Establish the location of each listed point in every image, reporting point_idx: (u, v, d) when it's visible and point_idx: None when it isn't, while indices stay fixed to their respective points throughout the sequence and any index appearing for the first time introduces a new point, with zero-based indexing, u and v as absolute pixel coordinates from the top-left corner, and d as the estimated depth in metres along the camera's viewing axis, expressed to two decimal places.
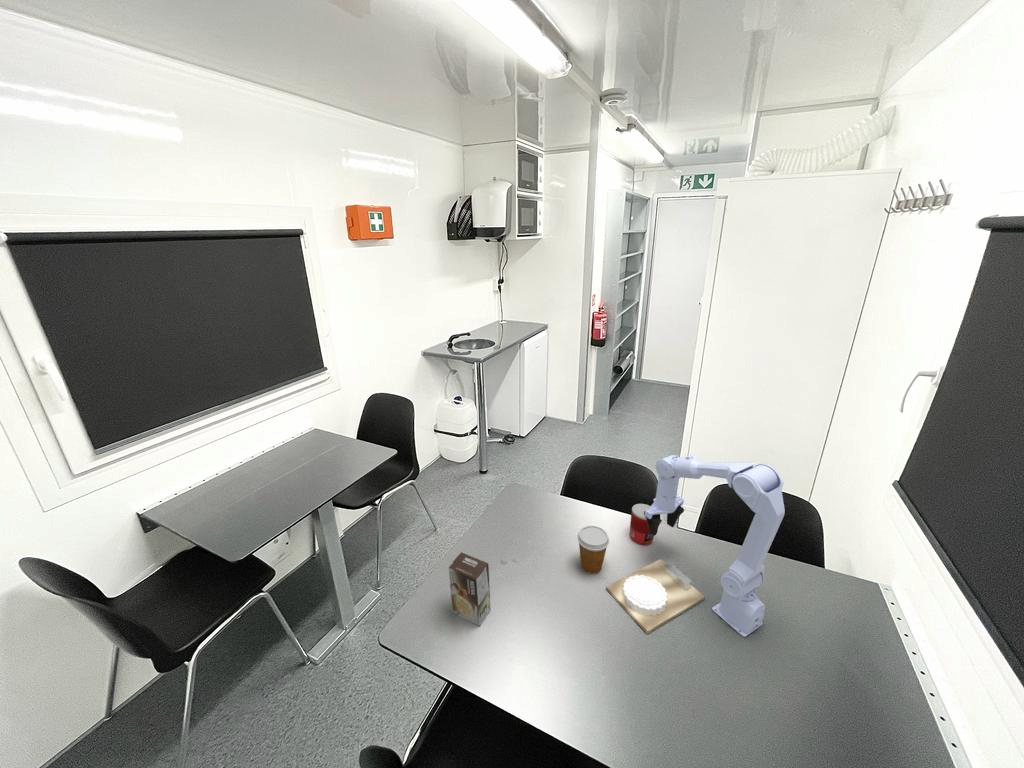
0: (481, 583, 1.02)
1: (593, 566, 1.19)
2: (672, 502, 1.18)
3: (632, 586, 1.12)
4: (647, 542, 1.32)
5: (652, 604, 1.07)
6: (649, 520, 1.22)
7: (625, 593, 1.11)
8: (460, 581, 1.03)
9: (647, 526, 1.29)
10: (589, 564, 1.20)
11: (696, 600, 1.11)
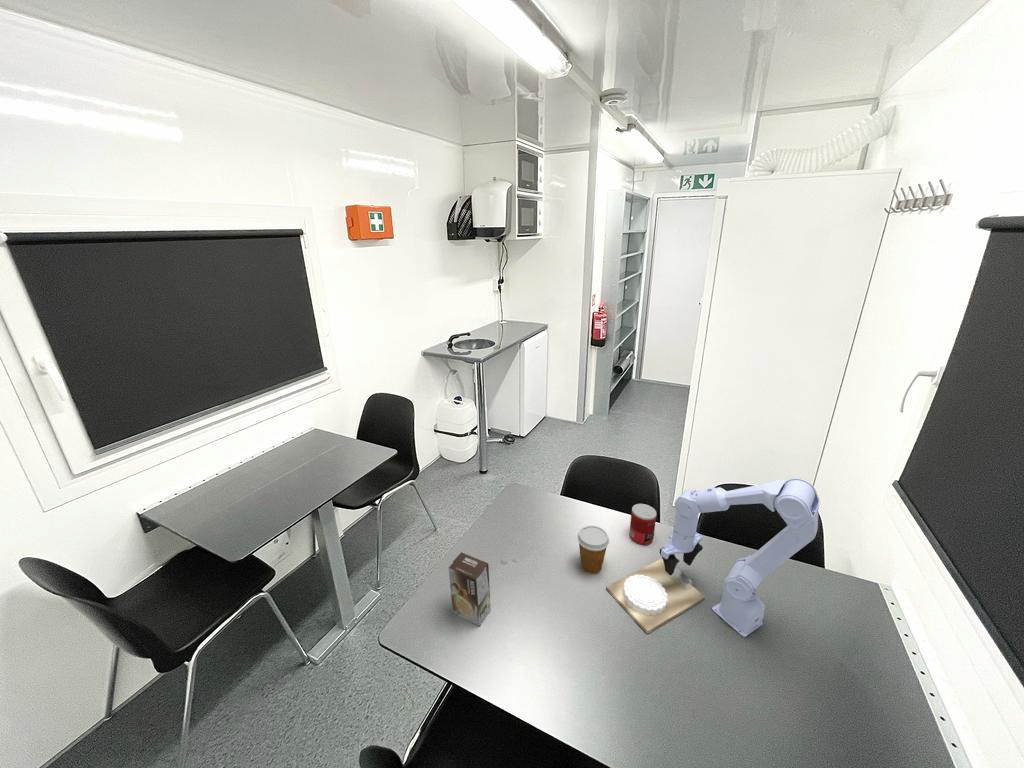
0: (481, 583, 1.02)
1: (593, 566, 1.19)
2: (690, 541, 1.09)
3: (633, 589, 1.11)
4: (647, 542, 1.32)
5: (658, 603, 1.07)
6: (665, 559, 1.13)
7: (629, 598, 1.09)
8: (460, 581, 1.03)
9: (647, 526, 1.29)
10: (589, 564, 1.20)
11: (696, 600, 1.11)
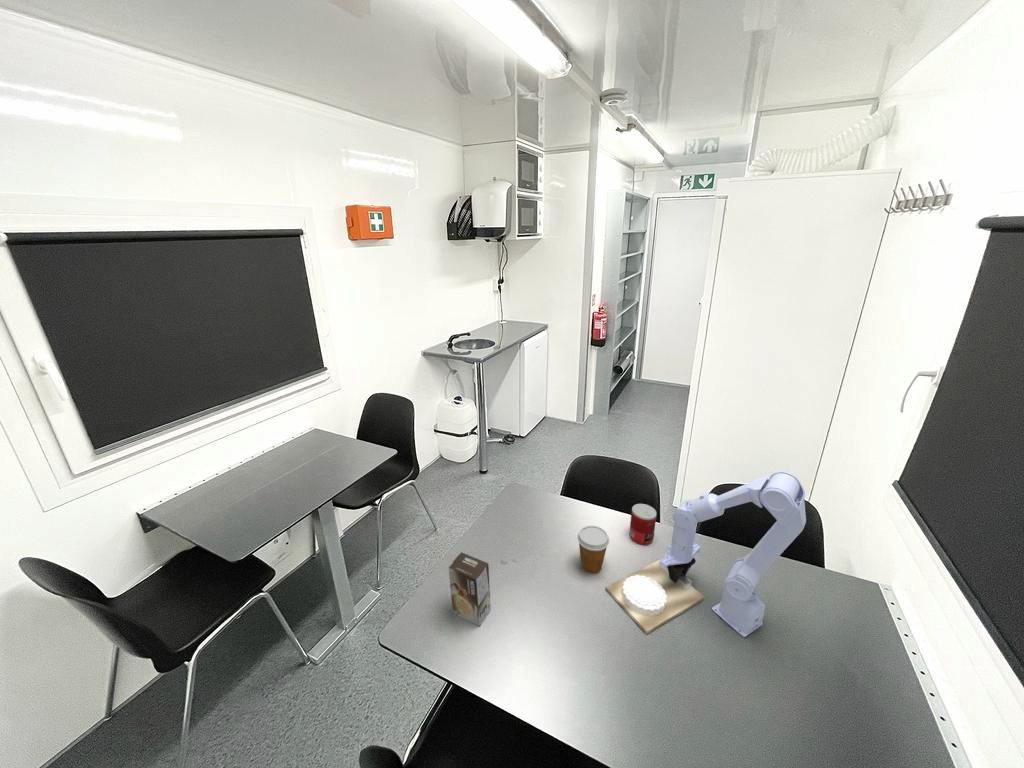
0: (481, 583, 1.02)
1: (593, 566, 1.19)
2: (689, 552, 1.10)
3: (635, 594, 1.09)
4: (647, 542, 1.32)
5: (661, 598, 1.09)
6: (669, 566, 1.15)
7: (638, 605, 1.07)
8: (460, 581, 1.03)
9: (647, 526, 1.29)
10: (589, 564, 1.20)
11: (695, 600, 1.10)
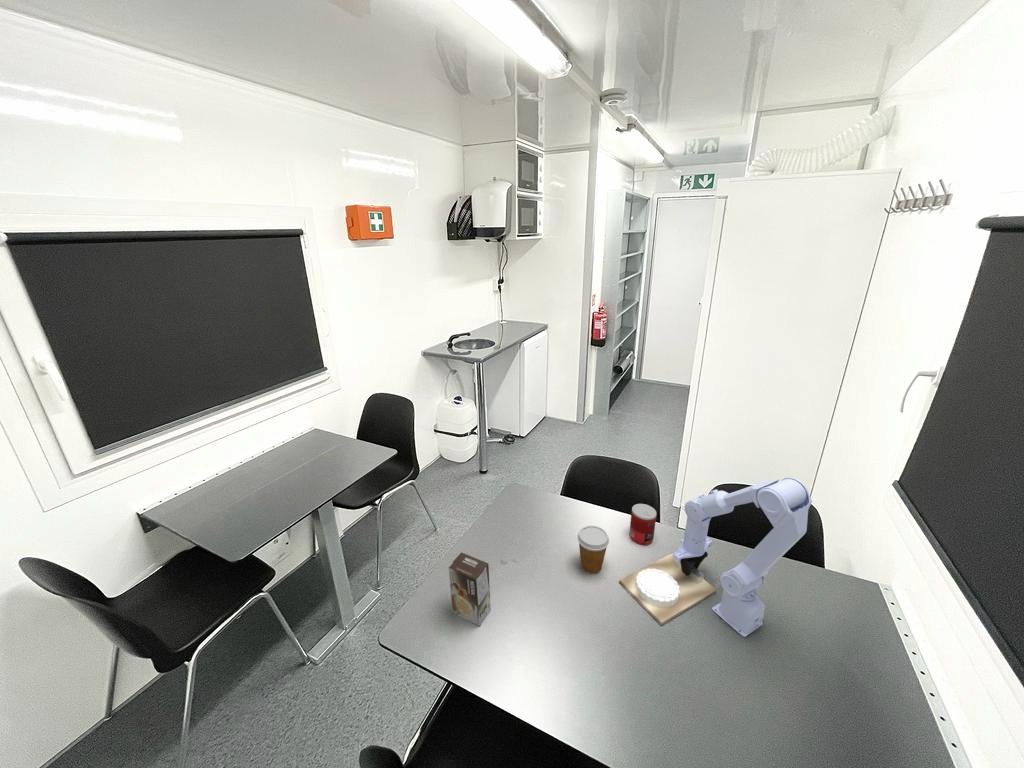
0: (481, 583, 1.02)
1: (593, 566, 1.19)
2: (701, 545, 1.13)
3: (657, 591, 1.10)
4: (647, 542, 1.32)
5: (673, 581, 1.14)
6: (682, 560, 1.18)
7: (667, 600, 1.08)
8: (460, 581, 1.03)
9: (647, 526, 1.29)
10: (589, 564, 1.20)
11: (708, 593, 1.13)
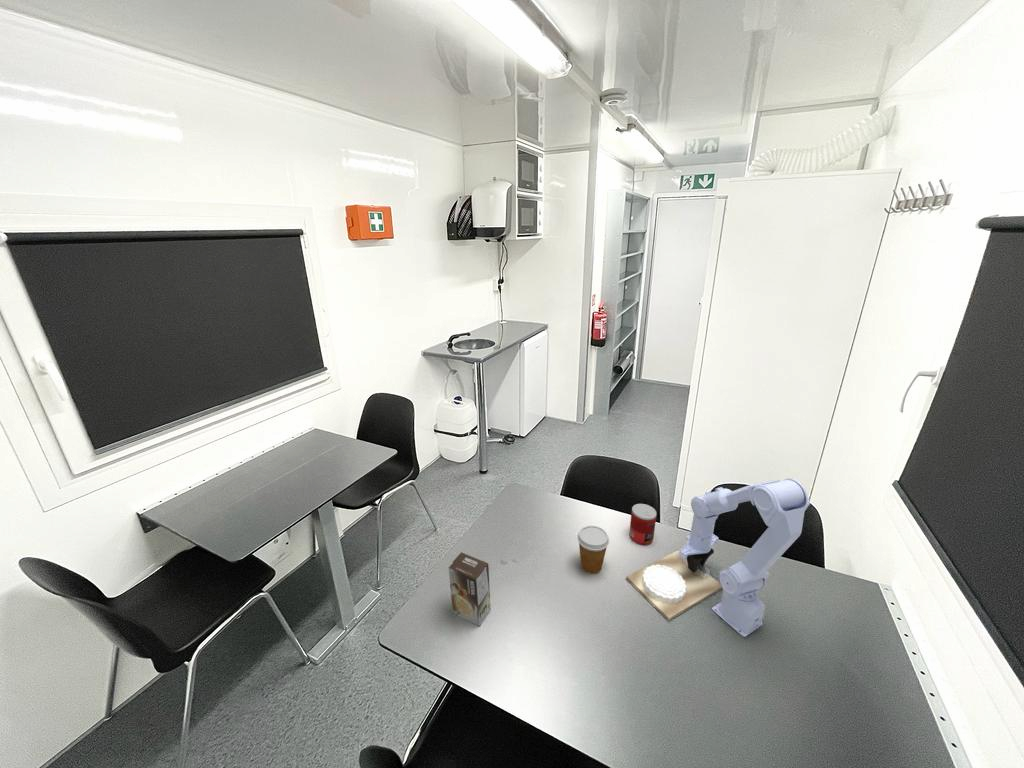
0: (481, 583, 1.02)
1: (593, 566, 1.19)
2: (708, 542, 1.14)
3: (673, 588, 1.11)
4: (647, 542, 1.32)
5: (669, 569, 1.18)
6: (688, 557, 1.19)
7: (684, 590, 1.11)
8: (460, 581, 1.03)
9: (647, 526, 1.29)
10: (589, 564, 1.20)
11: (714, 589, 1.14)
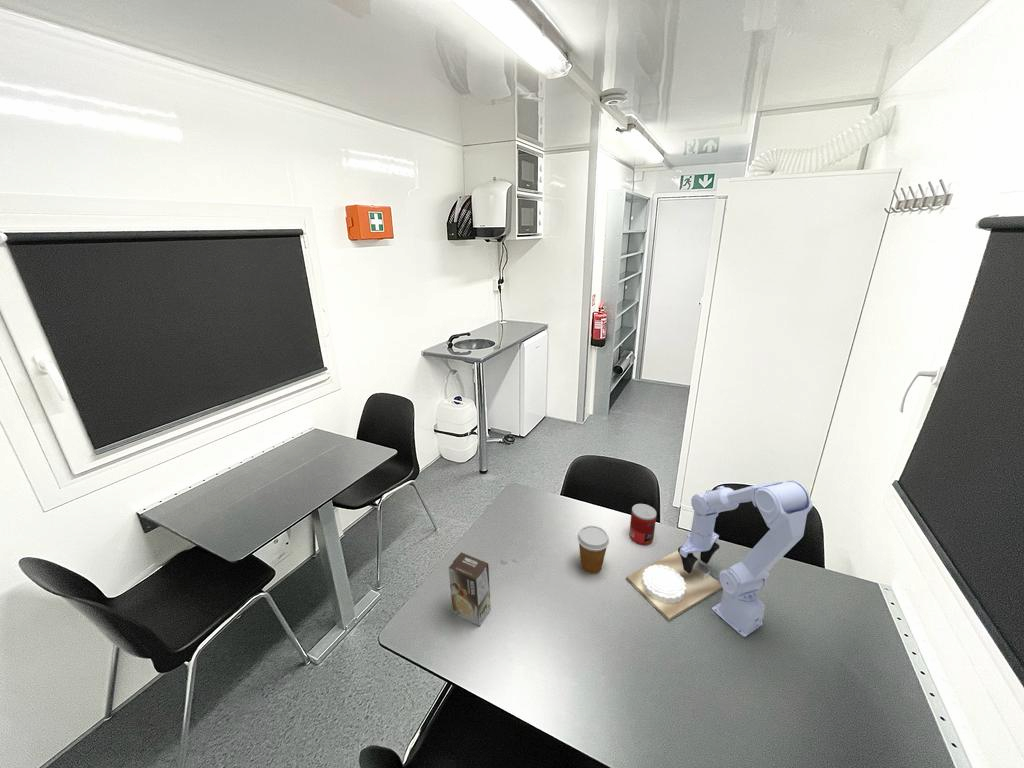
0: (481, 583, 1.02)
1: (593, 566, 1.19)
2: (708, 540, 1.14)
3: (673, 587, 1.12)
4: (647, 542, 1.32)
5: (666, 568, 1.18)
6: (683, 557, 1.18)
7: (684, 587, 1.12)
8: (460, 581, 1.03)
9: (647, 526, 1.29)
10: (589, 564, 1.20)
11: (714, 589, 1.14)
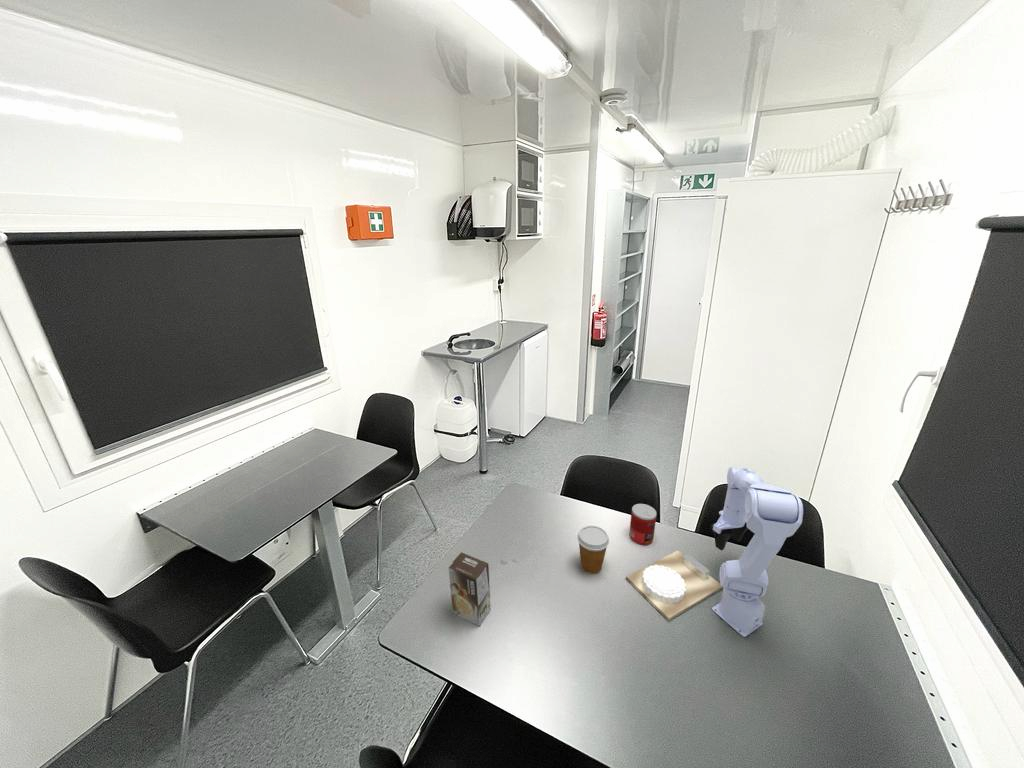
0: (481, 583, 1.02)
1: (593, 566, 1.19)
2: (742, 516, 1.13)
3: (670, 588, 1.11)
4: (647, 542, 1.32)
5: (672, 571, 1.17)
6: (716, 534, 1.17)
7: (682, 593, 1.10)
8: (460, 581, 1.03)
9: (647, 526, 1.29)
10: (589, 564, 1.20)
11: (714, 589, 1.14)
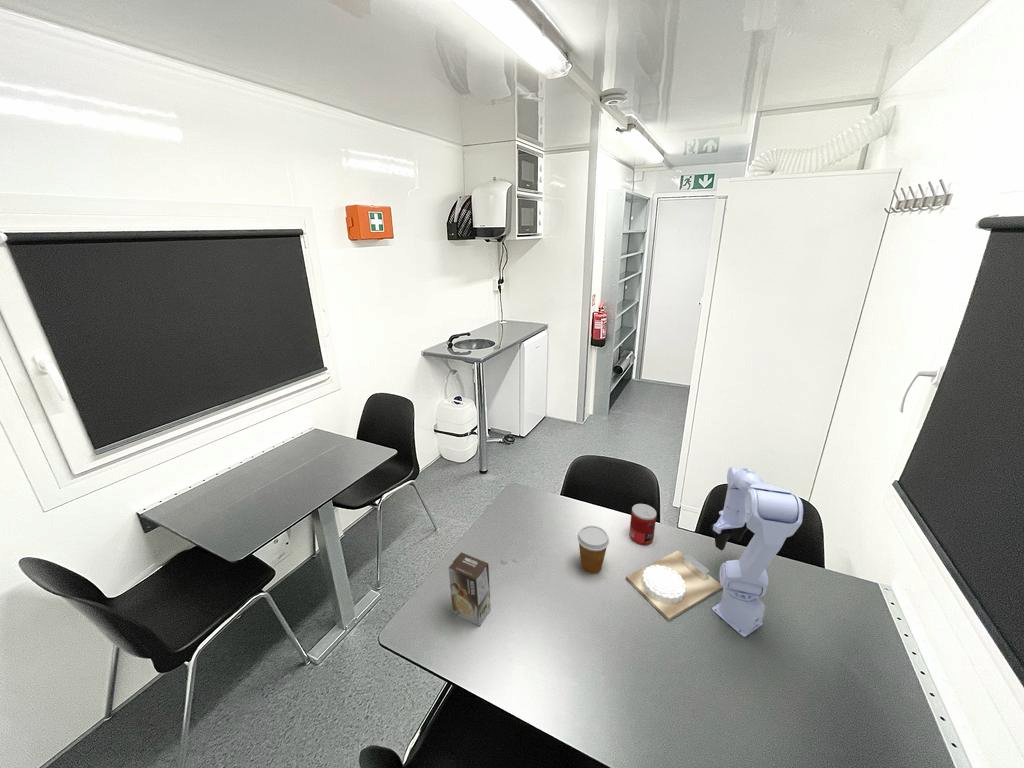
0: (481, 583, 1.02)
1: (593, 566, 1.19)
2: (742, 516, 1.13)
3: (665, 588, 1.11)
4: (647, 542, 1.32)
5: (677, 576, 1.16)
6: (716, 534, 1.17)
7: (677, 596, 1.09)
8: (460, 581, 1.03)
9: (647, 526, 1.29)
10: (589, 564, 1.20)
11: (714, 589, 1.14)
